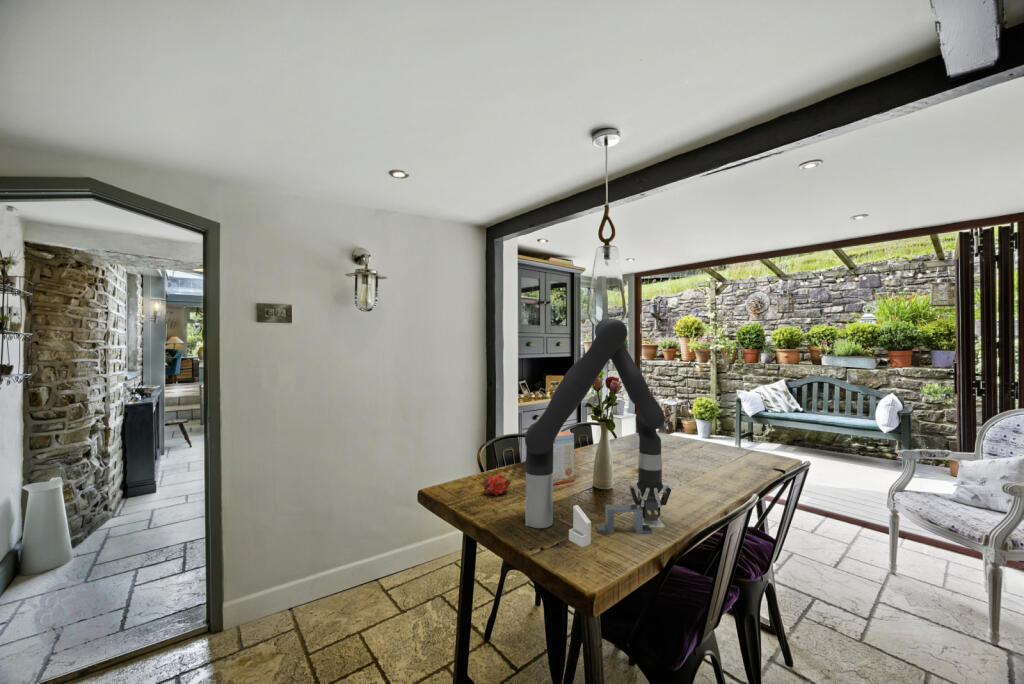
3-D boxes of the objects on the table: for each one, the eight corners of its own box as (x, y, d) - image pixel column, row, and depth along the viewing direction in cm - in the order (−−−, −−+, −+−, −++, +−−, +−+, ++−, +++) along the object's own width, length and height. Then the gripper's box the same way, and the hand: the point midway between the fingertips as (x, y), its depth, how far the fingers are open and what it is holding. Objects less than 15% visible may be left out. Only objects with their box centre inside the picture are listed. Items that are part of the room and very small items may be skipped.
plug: (646, 522, 139) (647, 504, 138) (636, 506, 152) (636, 489, 151) (659, 522, 138) (659, 504, 138) (647, 506, 151) (647, 489, 151)
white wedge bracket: (568, 523, 136) (577, 504, 133) (587, 550, 129) (598, 531, 126) (559, 526, 134) (568, 507, 130) (578, 553, 127) (589, 534, 123)
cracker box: (567, 477, 188) (567, 430, 188) (574, 481, 182) (574, 433, 182) (539, 482, 182) (539, 433, 182) (546, 486, 177) (546, 436, 176)
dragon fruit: (479, 499, 167) (507, 499, 172) (487, 492, 161) (516, 492, 166) (478, 477, 172) (505, 478, 177) (485, 470, 166) (513, 471, 170)
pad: (640, 527, 139) (640, 526, 139) (629, 509, 153) (629, 508, 153) (665, 527, 139) (665, 526, 139) (652, 510, 153) (652, 509, 153)
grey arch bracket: (598, 533, 135) (598, 509, 135) (596, 527, 139) (596, 504, 139) (652, 533, 134) (652, 510, 134) (648, 528, 138) (648, 505, 138)
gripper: (667, 462, 145) (667, 512, 146) (625, 462, 146) (625, 512, 146) (675, 469, 138) (675, 522, 138) (631, 469, 138) (631, 521, 139)
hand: (649, 516), depth 142 cm, fingers closed on plug, 4 cm apart
